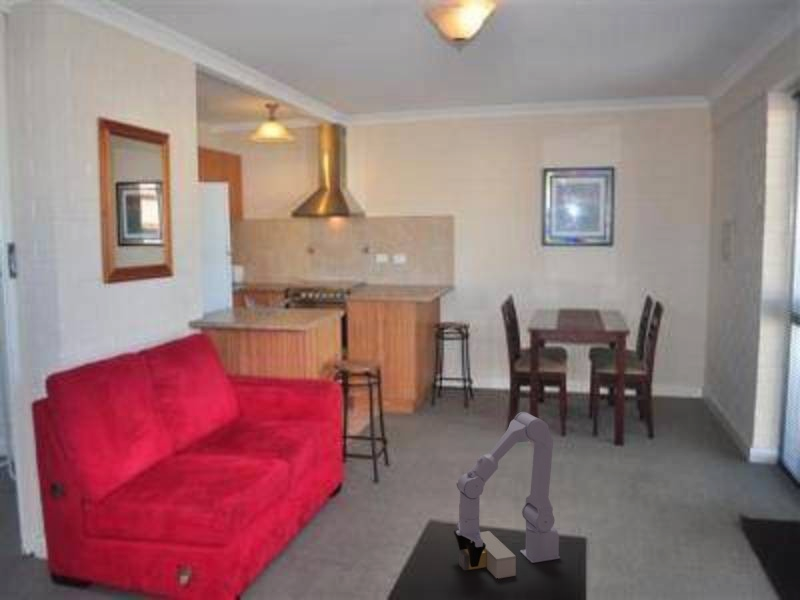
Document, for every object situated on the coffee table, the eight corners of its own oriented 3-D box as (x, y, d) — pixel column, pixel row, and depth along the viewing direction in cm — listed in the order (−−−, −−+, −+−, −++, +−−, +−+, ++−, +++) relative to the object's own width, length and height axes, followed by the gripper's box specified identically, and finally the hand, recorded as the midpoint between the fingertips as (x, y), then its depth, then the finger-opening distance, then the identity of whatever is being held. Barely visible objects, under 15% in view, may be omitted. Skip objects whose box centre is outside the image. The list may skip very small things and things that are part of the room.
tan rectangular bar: (494, 558, 212) (494, 544, 211) (500, 564, 208) (500, 550, 207) (458, 564, 208) (458, 550, 208) (464, 570, 204) (464, 555, 204)
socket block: (488, 548, 219) (489, 530, 218) (515, 575, 202) (515, 556, 201) (471, 551, 217) (471, 533, 216) (496, 578, 200) (496, 559, 199)
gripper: (447, 508, 211) (447, 551, 212) (466, 527, 197) (466, 573, 199) (469, 505, 213) (469, 548, 215) (489, 524, 200) (489, 570, 201)
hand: (469, 560), depth 207 cm, fingers open, 7 cm apart
